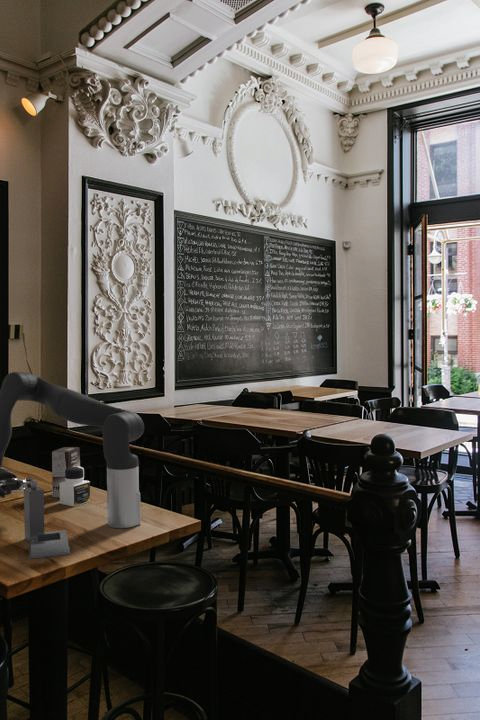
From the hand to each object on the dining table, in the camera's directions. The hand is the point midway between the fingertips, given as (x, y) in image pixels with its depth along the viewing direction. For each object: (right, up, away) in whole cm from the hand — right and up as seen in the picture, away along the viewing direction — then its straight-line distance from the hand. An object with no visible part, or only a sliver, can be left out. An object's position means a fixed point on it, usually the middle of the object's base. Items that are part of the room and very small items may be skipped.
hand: (18, 491), depth 172 cm
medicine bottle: (+9, -10, +27) cm, 30 cm away
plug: (+7, -11, -8) cm, 16 cm away
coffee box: (+3, -10, +38) cm, 39 cm away
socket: (+14, -12, -17) cm, 25 cm away
